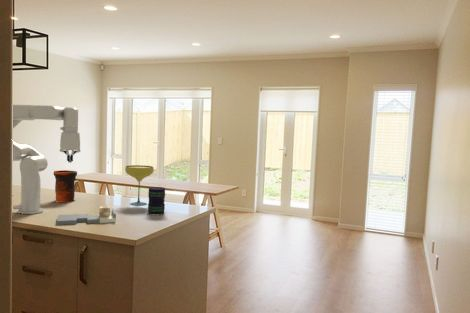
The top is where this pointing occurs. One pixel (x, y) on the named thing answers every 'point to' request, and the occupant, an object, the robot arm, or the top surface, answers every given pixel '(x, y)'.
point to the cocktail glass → (139, 177)
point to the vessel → (65, 185)
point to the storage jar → (156, 200)
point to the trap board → (85, 218)
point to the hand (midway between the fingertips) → (69, 162)
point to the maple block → (104, 211)
